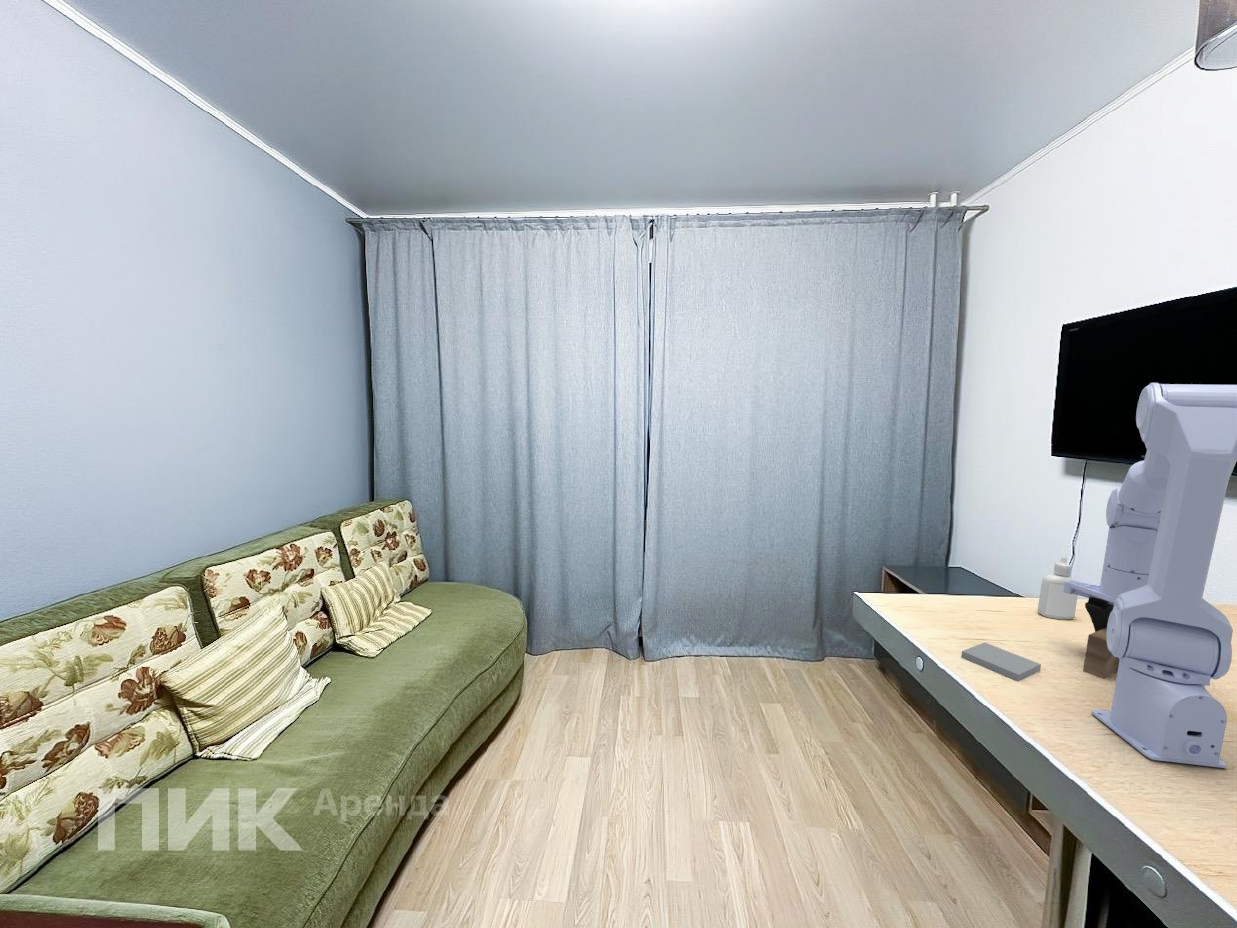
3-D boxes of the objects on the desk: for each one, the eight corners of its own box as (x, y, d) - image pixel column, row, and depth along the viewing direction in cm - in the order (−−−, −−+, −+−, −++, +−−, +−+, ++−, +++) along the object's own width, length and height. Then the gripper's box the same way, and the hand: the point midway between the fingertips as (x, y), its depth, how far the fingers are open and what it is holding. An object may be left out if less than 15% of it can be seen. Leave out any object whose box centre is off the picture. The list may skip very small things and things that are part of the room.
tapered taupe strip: (1102, 678, 80) (1108, 641, 79) (1082, 671, 82) (1088, 634, 81) (1139, 659, 86) (1145, 624, 85) (1120, 652, 88) (1125, 619, 88)
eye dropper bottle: (1074, 623, 100) (1084, 563, 98) (1037, 615, 103) (1045, 556, 102) (1073, 616, 103) (1082, 558, 101) (1037, 609, 106) (1045, 552, 105)
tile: (1041, 664, 81) (1018, 674, 78) (1039, 673, 81) (1017, 684, 78) (984, 642, 88) (962, 651, 85) (983, 651, 88) (960, 660, 85)
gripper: (1203, 579, 78) (1187, 665, 79) (1081, 552, 90) (1070, 627, 92) (1186, 586, 74) (1170, 676, 76) (1062, 557, 87) (1051, 635, 88)
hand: (1114, 650), depth 84 cm, fingers closed on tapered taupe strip, 2 cm apart
